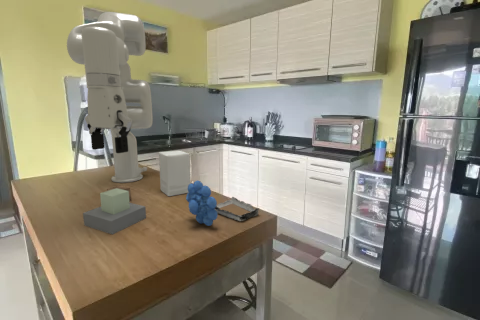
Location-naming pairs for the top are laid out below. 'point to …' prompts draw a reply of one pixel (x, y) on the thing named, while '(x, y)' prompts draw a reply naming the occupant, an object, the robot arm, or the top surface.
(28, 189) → the top surface
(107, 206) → the sage cube
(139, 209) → the base block
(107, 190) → the walnut cube
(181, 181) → the supplement box
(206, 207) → the grapes
